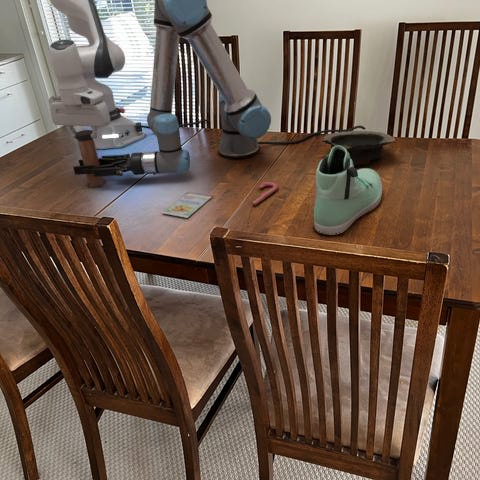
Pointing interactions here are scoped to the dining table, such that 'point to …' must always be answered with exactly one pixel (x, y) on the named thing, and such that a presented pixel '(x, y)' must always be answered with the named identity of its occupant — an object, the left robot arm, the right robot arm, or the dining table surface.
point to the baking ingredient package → (187, 205)
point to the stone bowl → (360, 144)
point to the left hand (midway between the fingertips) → (85, 138)
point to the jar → (90, 160)
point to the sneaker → (343, 192)
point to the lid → (83, 135)
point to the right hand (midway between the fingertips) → (77, 167)
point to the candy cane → (266, 192)
